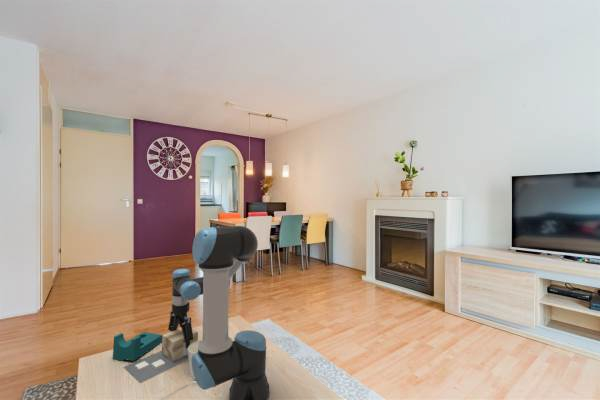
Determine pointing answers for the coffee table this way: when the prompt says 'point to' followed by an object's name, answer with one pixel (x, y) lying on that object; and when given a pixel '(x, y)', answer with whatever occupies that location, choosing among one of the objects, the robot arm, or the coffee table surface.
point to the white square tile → (142, 366)
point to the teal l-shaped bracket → (134, 346)
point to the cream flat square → (158, 364)
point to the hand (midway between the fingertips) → (180, 350)
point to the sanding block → (175, 344)
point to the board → (151, 371)
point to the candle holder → (191, 351)
